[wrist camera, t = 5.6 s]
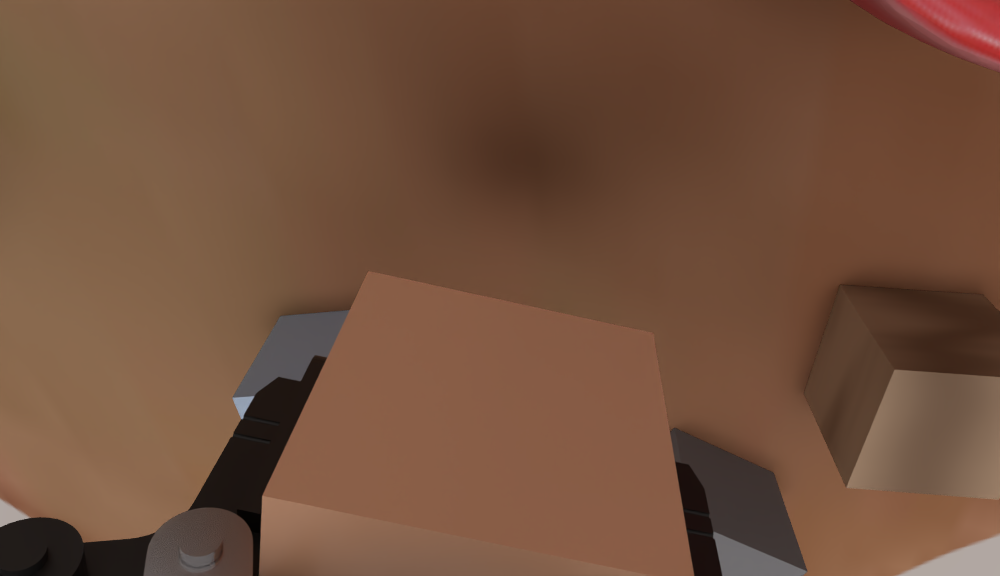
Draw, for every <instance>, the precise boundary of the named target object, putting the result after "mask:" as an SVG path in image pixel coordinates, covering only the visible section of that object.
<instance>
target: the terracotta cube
mask: <svg viewBox="0 0 1000 576" xmlns="http://www.w3.org/2000/svg"><path fill="white" fill-rule="evenodd" d="M259 576H694V572H693V566H692V560H691V554H690V548H689V542H688V536H687V530H686V524H685V518H684V512H683V506H682V501H681V495H680V489H679V483H678V477H677V471H676V465H675V459H674V453H673V447H672V441H671V435H670V429H669V423H668V417H667V411H666V405H665V399H664V394H663V388H662V382H661V376H660V370H659V364H658V358H657V352H656V346H655V340H654V334H653V333H651V332H647V331H642V330H638V329H633V328H628V327H624V326H619V325H615V324H610V323H605V322H601V321H596V320H592V319H587V318H582V317H578V316H573V315H569V314H564V313H560V312H555V311H550V310H546V309H541V308H537V307H532V306H527V305H523V304H518V303H514V302H509V301H504V300H500V299H495V298H491V297H486V296H481V295H477V294H472V293H468V292H463V291H459V290H454V289H449V288H445V287H440V286H436V285H431V284H426V283H422V282H417V281H413V280H408V279H403V278H399V277H394V276H390V275H385V274H380V273H376V272H371V271H368V272H367V275H366V277H365V279H364V281H363V283H362V285H361V287H360V289H359V292H358V294H357V296H356V298H355V300H354V302H353V304H352V306H351V309H350V311H349V313H348V315H347V317H346V319H345V321H344V323H343V325H342V328H341V330H340V332H339V334H338V336H337V338H336V340H335V342H334V345H333V347H332V349H331V351H330V353H329V355H328V357H327V359H326V362H325V364H324V366H323V368H322V370H321V372H320V374H319V376H318V379H317V381H316V383H315V385H314V387H313V389H312V391H311V393H310V396H309V398H308V400H307V402H306V404H305V406H304V408H303V410H302V412H301V415H300V417H299V419H298V421H297V423H296V425H295V427H294V429H293V432H292V434H291V436H290V438H289V440H288V442H287V444H286V446H285V449H284V451H283V453H282V455H281V457H280V459H279V461H278V463H277V466H276V468H275V470H274V472H273V474H272V476H271V478H270V480H269V482H268V485H267V487H266V489H265V491H264V493H263V495H262V514H261V538H260V563H259Z"/></svg>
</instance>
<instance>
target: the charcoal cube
mask: <svg viewBox="0 0 1000 576" xmlns="http://www.w3.org/2000/svg"><path fill="white" fill-rule="evenodd" d="M670 435H671V441H672V447H673V453H674V459H675V462H680V463H684V464H689V465H690V467H691V468H692V470H693V472H694V473H695V475H696V476H697V478H698V479H699V481H700V482H701V484H702V485H703V487H704V489H705V493H706V498H707V503H708V508H709V513H710V514H709V518H711V522H712V527H713V532H714V535H713V539H715V542H716V547H717V552H718V556H719V561H720V566H721V571H722V576H803V575H804V574H805V573H806V572H807V569H806V566H805V563H804V560H803V557H802V554H801V551H800V548H799V545H798V542H797V540H796V537H795V534H794V531H793V528H792V525H791V522H790V519H789V516H788V513H787V510H786V507H785V505H784V502H783V499H782V496H781V493H780V490H779V487H778V484H777V481H776V478H775V475H774V473H773V472H771V471H768V470H766V469H764V468H762V467H760V466H757V465H755V464H753V463H751V462H749V461H746V460H744V459H742V458H740V457H738V456H735V455H733V454H731V453H729V452H727V451H724V450H722V449H720V448H718V447H715V446H713V445H711V444H709V443H707V442H704V441H702V440H700V439H698V438H696V437H693V436H691V435H689V434H687V433H685V432H682V431H680V430H678V429H676V428H674V429H673V430H672V431H671V432H670Z"/></svg>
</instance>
